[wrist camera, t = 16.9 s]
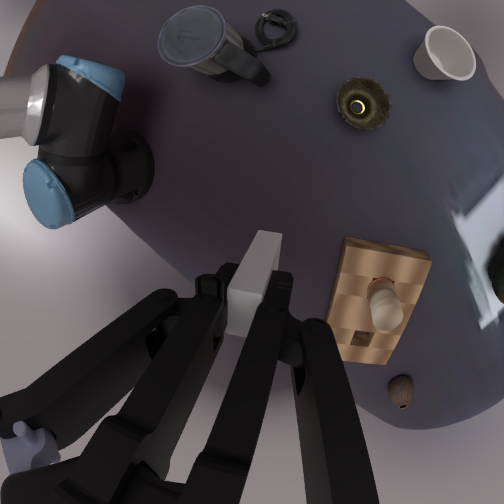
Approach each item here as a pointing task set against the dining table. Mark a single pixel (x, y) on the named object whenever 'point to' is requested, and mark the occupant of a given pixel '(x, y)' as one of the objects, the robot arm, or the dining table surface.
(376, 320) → the beech peg
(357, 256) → the oak board
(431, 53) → the dixie cup
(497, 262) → the squash
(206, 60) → the milk frother
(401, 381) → the vase
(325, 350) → the robot arm
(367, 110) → the wire cup brush
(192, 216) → the dining table surface
